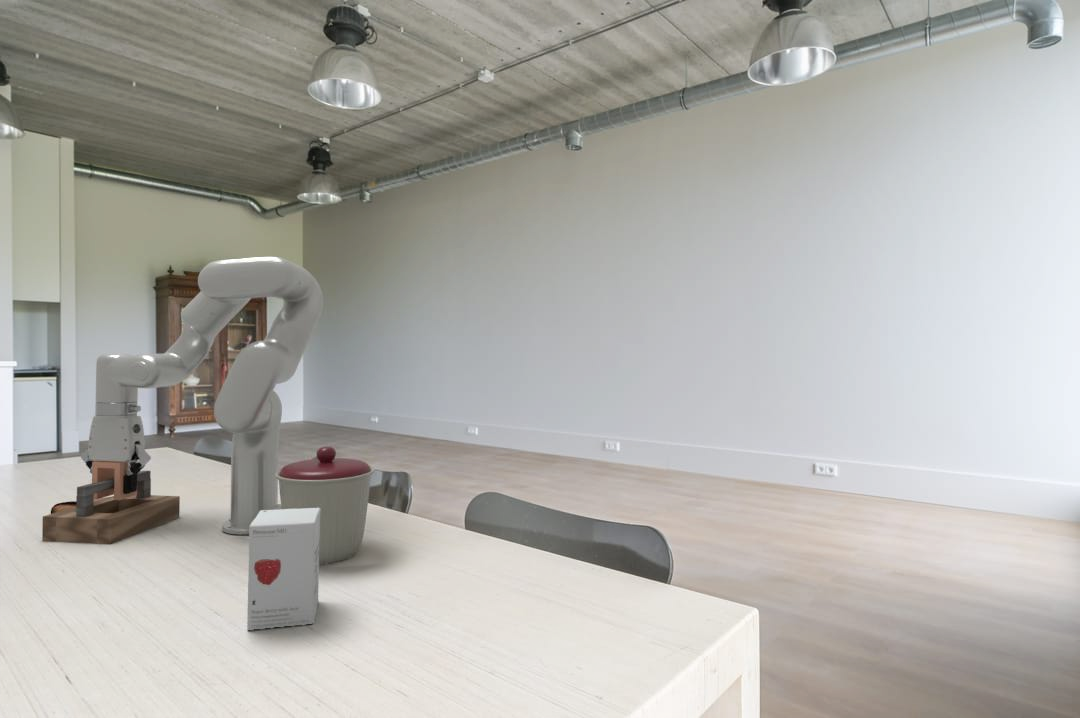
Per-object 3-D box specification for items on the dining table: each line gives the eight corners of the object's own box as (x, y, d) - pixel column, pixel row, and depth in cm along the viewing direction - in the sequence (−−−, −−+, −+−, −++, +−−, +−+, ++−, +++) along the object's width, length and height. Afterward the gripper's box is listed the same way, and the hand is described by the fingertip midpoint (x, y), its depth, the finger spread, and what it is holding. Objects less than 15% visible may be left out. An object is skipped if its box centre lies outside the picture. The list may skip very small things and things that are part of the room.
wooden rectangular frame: (179, 517, 140) (179, 470, 140) (110, 544, 120) (111, 489, 120) (120, 515, 142) (120, 468, 142) (42, 540, 122) (42, 487, 122)
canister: (343, 576, 104) (344, 456, 104) (252, 568, 108) (253, 451, 108) (389, 544, 122) (390, 442, 122) (309, 538, 126) (311, 438, 126)
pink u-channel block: (137, 495, 133) (137, 459, 133) (119, 500, 128) (119, 463, 128) (110, 493, 134) (111, 458, 134) (91, 499, 129) (92, 462, 129)
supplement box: (245, 632, 83) (246, 525, 83) (257, 606, 92) (258, 509, 92) (314, 625, 86) (315, 521, 86) (320, 600, 94) (321, 506, 94)
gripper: (165, 409, 134) (164, 489, 134) (94, 407, 135) (92, 486, 136) (140, 413, 126) (138, 497, 126) (65, 410, 128) (63, 493, 128)
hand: (114, 491), depth 131 cm, fingers closed on pink u-channel block, 6 cm apart
